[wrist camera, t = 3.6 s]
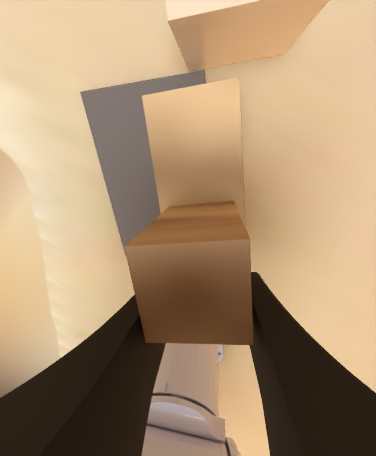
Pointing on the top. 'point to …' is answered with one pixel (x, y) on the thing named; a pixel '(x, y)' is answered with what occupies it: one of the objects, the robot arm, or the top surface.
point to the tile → (237, 28)
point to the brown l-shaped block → (195, 221)
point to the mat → (129, 147)
